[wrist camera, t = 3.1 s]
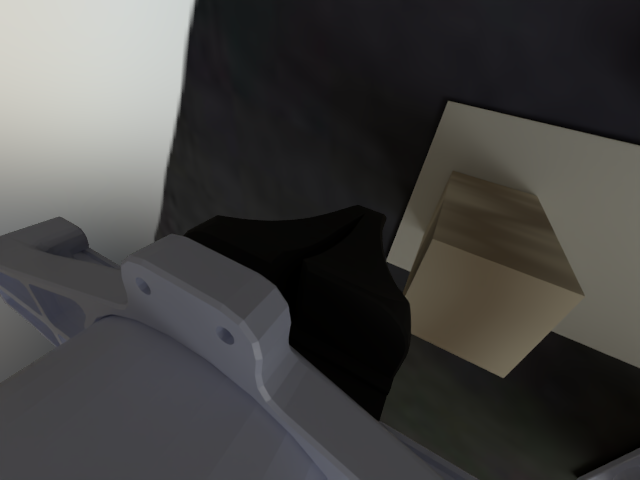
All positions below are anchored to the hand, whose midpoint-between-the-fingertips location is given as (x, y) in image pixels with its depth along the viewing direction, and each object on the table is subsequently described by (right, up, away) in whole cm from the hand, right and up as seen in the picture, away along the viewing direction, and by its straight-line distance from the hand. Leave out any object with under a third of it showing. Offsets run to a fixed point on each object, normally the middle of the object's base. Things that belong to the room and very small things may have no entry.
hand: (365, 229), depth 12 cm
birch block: (+6, +1, +3) cm, 7 cm away
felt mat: (+10, -1, +2) cm, 10 cm away
